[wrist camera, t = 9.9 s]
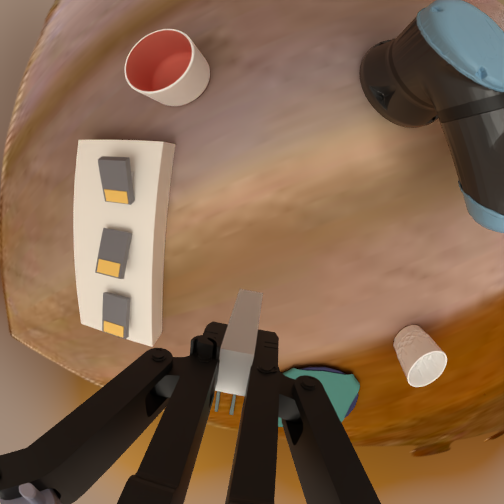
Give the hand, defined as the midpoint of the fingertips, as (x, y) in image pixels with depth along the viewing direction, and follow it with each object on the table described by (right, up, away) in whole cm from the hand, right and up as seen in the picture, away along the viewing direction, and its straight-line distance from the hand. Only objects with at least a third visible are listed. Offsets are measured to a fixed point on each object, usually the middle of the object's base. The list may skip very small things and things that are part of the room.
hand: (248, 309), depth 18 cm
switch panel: (-22, +6, +28) cm, 36 cm away
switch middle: (-21, +4, +21) cm, 30 cm away
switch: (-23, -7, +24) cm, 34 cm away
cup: (-11, +31, +20) cm, 38 cm away
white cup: (+30, -13, +29) cm, 44 cm away
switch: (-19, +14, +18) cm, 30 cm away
